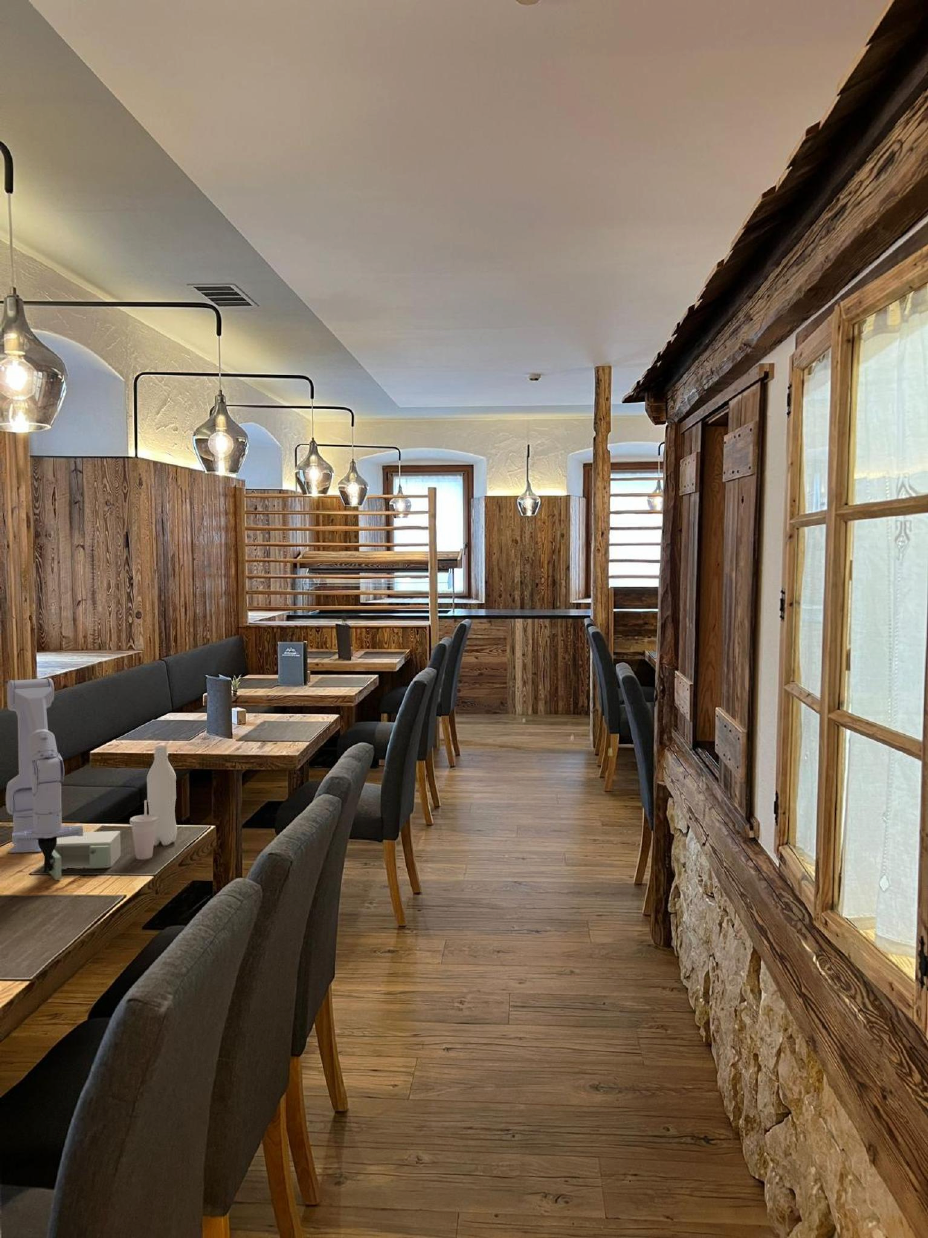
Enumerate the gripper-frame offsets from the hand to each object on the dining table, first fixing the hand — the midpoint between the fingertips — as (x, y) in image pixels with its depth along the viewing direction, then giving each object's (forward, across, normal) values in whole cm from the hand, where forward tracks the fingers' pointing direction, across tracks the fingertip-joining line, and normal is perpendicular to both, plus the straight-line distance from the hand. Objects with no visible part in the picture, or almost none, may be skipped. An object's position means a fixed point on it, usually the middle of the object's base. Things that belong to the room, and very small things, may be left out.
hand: (48, 870), depth 205 cm
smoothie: (+2, +21, +6) cm, 22 cm away
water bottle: (+2, +27, +16) cm, 31 cm away
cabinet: (+2, +8, +7) cm, 11 cm away
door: (+1, +1, +1) cm, 2 cm away
